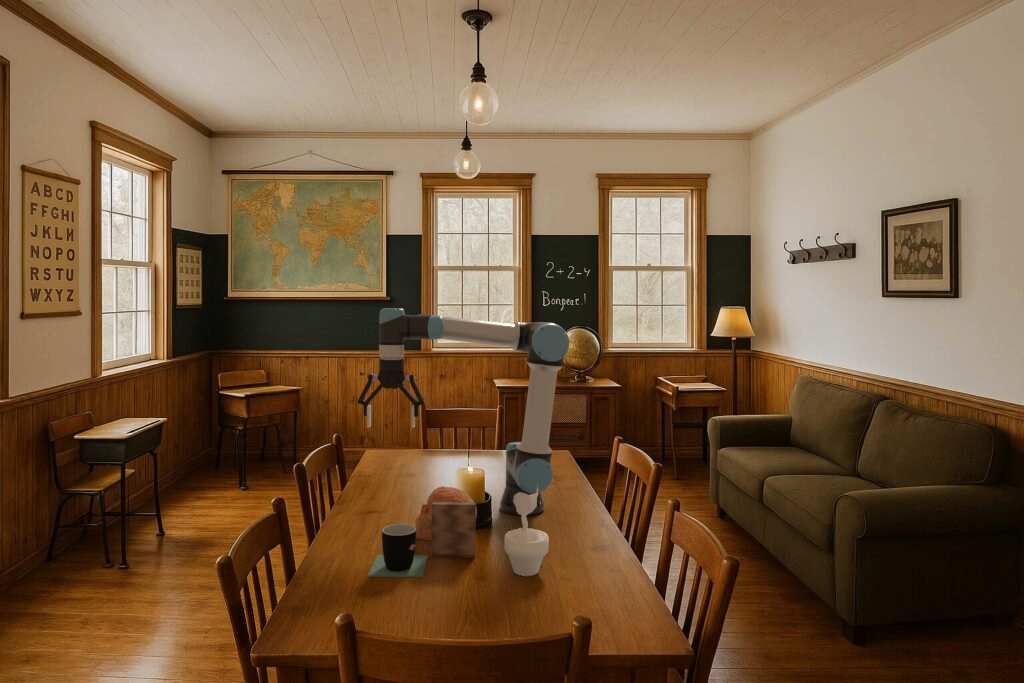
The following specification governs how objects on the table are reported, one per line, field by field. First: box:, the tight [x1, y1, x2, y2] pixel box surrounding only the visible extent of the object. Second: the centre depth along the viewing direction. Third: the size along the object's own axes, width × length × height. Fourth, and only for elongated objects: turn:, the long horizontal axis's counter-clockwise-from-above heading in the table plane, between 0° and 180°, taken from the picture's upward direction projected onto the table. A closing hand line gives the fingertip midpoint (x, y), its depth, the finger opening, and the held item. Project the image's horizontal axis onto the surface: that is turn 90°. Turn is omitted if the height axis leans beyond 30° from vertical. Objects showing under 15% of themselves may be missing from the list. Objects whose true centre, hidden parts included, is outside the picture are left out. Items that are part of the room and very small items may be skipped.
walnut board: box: [430, 502, 477, 559], centre depth 187 cm, size 12×5×15 cm, turn 92°
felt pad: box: [367, 554, 429, 578], centre depth 178 cm, size 14×14×1 cm
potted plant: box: [503, 483, 550, 577], centre depth 175 cm, size 13×12×25 cm
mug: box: [381, 523, 417, 571], centre depth 178 cm, size 12×9×10 cm
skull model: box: [414, 486, 478, 542], centre depth 201 cm, size 15×19×15 cm
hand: (391, 427), depth 206 cm, fingers open, 13 cm apart
